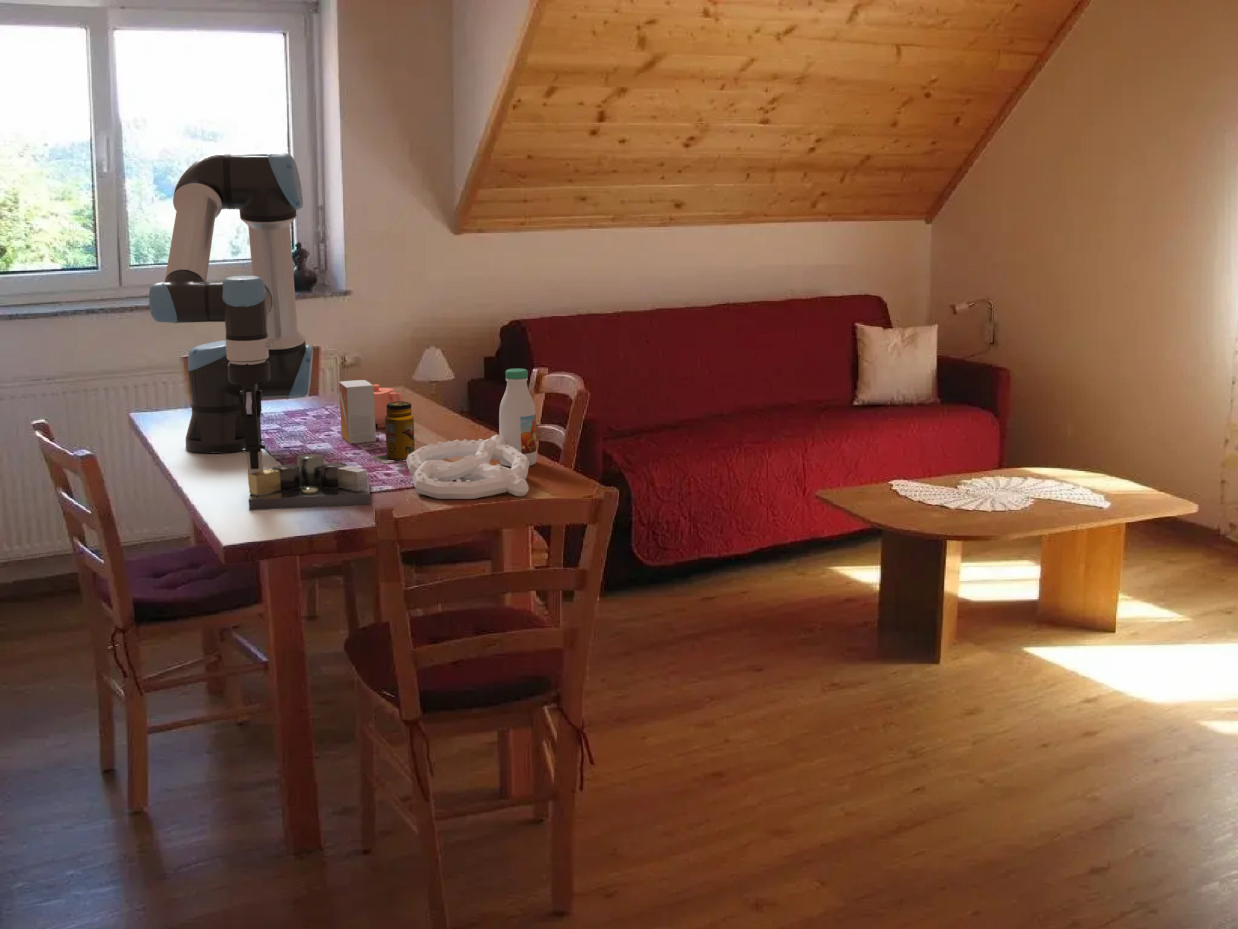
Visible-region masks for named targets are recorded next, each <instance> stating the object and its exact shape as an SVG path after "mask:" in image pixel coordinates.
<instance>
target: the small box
mask: <svg viewBox="0 0 1238 929" xmlns="http://www.w3.org/2000/svg"><path fill="white" fill-rule="evenodd" d="M373 385H374V384H372V383H371V382H370V381H367V380H365V379H356V380H344V381H343V380H342V381H338V389H339V410H340V432H341V435H340V436H341V437H342V438H343V439H344V440H345V441H346V442H347V443H348V444H350V445H353V444H352V443H354V444H361V443H362V444H363V443H364V442H366V443H374V442H377V436H376V434H377V433H376V432H377V431H376V424H375V410H374V390H373ZM364 444H365V443H364Z"/></svg>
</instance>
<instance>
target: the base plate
mask: <svg viewBox="0 0 1238 929" xmlns="http://www.w3.org/2000/svg"><path fill="white" fill-rule="evenodd" d="M324 461H325V460H324V455H323V454H318V453H310V454H309V453H307V454H300V455H298V456H297V457H296V464H297V466H299V477H300V487H298V488H295V489H290V490H278V491H273V492H269V493H265V494H260V495H255V494H251V493H250V492H249V497H248V509H249V511H254V510H255V511H257V510H277V509H280V510H283V509H299V508H319V507H323V508H324V507H340V506H341V507H343V506H345V507H346V506H361V505H363V506H364V505H366V506H367V505H371V497H370V496H371V494H370V493H371V492H370V475H368V474H367V489H364V490H361V491H354V490H349V489H344V488H339V487H336V488H328V487H323V486H322V485H321V467H320V466H321V465H323V464H325V463H324Z"/></svg>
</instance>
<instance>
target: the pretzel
mask: <svg viewBox="0 0 1238 929" xmlns="http://www.w3.org/2000/svg"><path fill="white" fill-rule="evenodd" d="M505 444H506V442H505V440H504V438H503V437H502V436H500V435H499V434H495V435H492V436H491V437H490V438H487V439H484V440H483V439H482V438H478V440H475V439H471V440H468V439H467V438H464V439H463V440H459V439H455V440H451V441H450V440H449V439H448V440H447V441H445V442H442V441H437V443H435V444H433V443H428V444H427V445H425V446H421V447H419V448H418V449H416V450H415V451H414V452H412V453H411V454H409V455H408V457H407V460H406V461H405V462H406V465H407V467H408V472H409V473H410V475H411V477H412V478H411V479H412V481H413V485H414V488H415V490H416V492H417V494H420V495H423V496H424V495H425V496H428V497H430V498H435V499H438V500H440V499H441V500H444V499H445V500H458V499H459V500H463V499H464V500H470V499H471V500H472V499H479V498H483V497H489V496H493V495H498V494H502V493H503V494H504V493H506V492H508V493H509V494H512V495H514V496H516V497H524V496H525V495H526V494H527V493H528V492H529V489H530V488H529V484H528V482H527V480H526V479H527V477H528V474H529V468H530V466H529V460H528V458H527V457H526V456H525V455H523V454H522V453H521V452H519V451H518V450H516V449H515V448H513V447H511V446H509V445H505ZM455 457H456V458H457V457H458V458H461V459H459V460H458V461H456V460H455V461H452V462H450V461H447V460H445V459H450V458H455ZM492 460H497V461H499V462H500V461H504V462H505V463H507V464H508V465H509V466H508V467H507V466H504V465H502V464H501V463H496V464H495V465H493V464H490V463H491V461H492ZM510 466H511V467H510ZM509 467H510V468H509ZM454 480H455V481H454Z"/></svg>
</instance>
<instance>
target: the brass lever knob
mask: <svg viewBox="0 0 1238 929" xmlns="http://www.w3.org/2000/svg"><path fill="white" fill-rule="evenodd" d="M248 475H249V483H248V487H249V488H248V489H249V490H248V491H249V494H250V493H251V494H255V495H260V494H265V493H269V492H273V491H278V490H290V489H295V488H298V487H300V477H299V466H297V465H295V464H281V465H280V464H279V465H275V466H272V468H270V469H263V471H260V472H255V473H250V474H248V473H247V476H248Z"/></svg>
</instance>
